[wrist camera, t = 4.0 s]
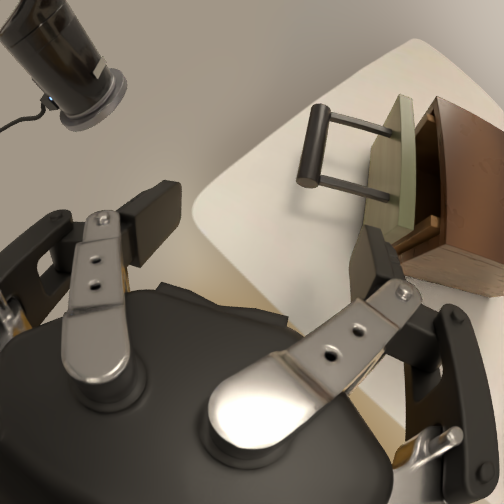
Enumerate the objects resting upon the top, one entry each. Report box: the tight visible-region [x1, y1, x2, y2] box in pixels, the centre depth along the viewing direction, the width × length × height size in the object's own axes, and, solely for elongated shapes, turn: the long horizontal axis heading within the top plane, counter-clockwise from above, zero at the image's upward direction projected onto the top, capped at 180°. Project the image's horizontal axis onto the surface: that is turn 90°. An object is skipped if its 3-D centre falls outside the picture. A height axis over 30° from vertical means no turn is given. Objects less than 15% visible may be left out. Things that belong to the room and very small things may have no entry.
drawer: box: [296, 94, 441, 255], centre depth 21 cm, size 20×12×9 cm, turn 76°
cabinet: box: [398, 96, 504, 298], centre depth 20 cm, size 15×13×11 cm
